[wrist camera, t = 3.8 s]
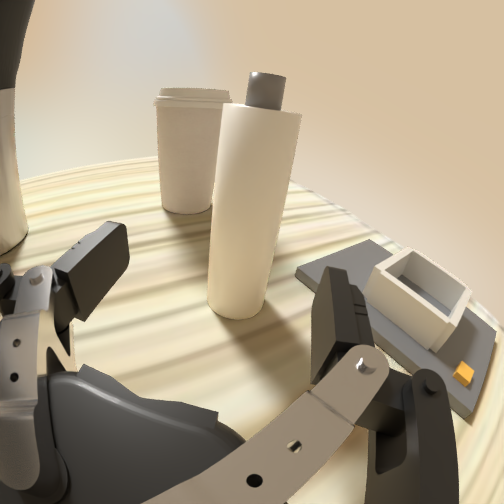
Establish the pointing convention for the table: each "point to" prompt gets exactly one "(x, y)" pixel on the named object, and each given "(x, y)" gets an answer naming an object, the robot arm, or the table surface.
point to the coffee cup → (188, 146)
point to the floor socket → (417, 315)
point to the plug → (249, 196)
